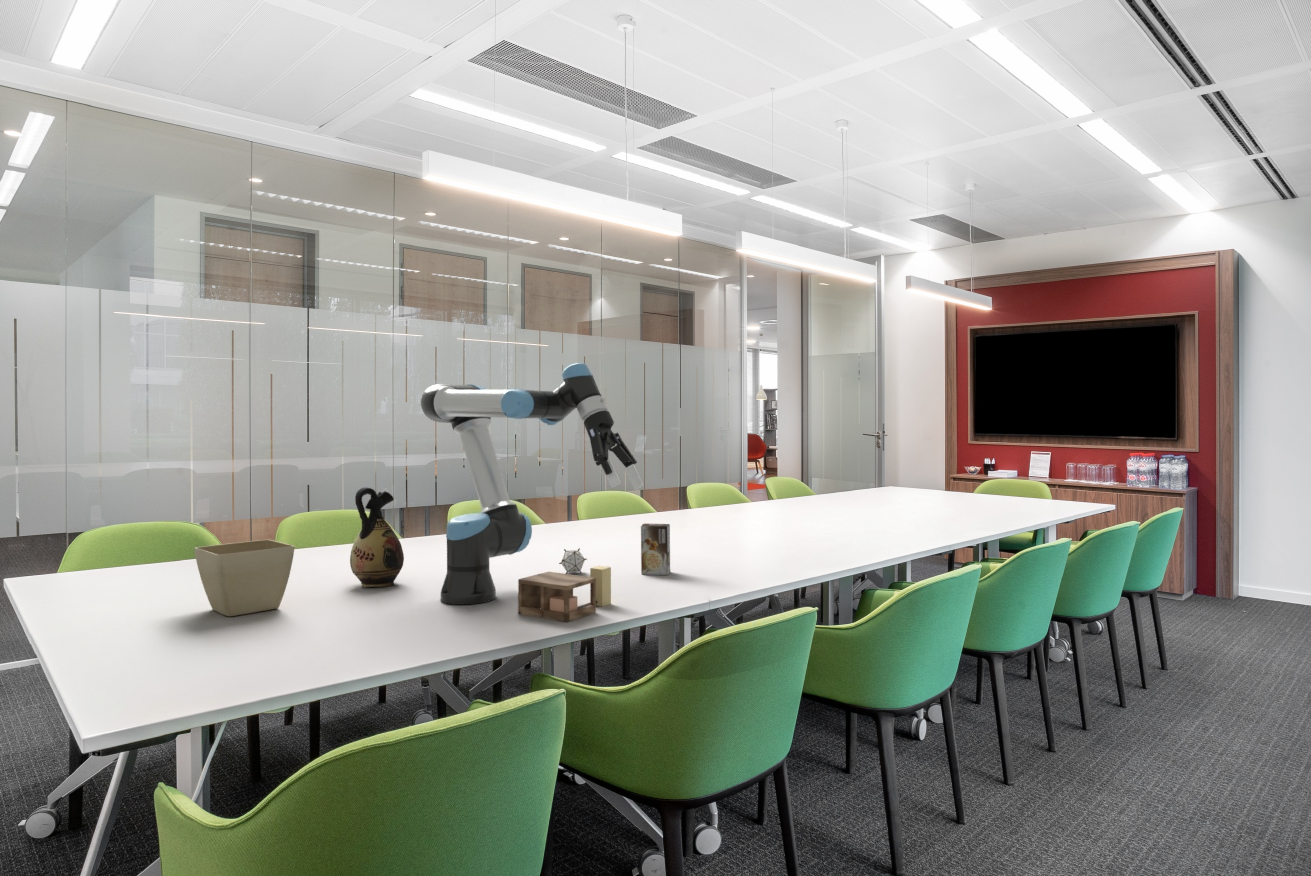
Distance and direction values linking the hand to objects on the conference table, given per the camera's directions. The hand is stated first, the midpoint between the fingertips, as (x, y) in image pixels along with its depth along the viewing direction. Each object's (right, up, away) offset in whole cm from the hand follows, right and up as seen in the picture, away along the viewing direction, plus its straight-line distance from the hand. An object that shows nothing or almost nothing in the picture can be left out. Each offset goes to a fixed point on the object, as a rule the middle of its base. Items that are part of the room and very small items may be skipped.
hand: (628, 486), depth 199 cm
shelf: (-18, -33, +1) cm, 38 cm away
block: (-12, -33, +4) cm, 35 cm away
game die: (-20, -32, +54) cm, 66 cm away
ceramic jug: (-78, -32, +35) cm, 92 cm away
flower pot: (-102, -33, +5) cm, 107 cm away
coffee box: (+7, -32, +54) cm, 63 cm away
